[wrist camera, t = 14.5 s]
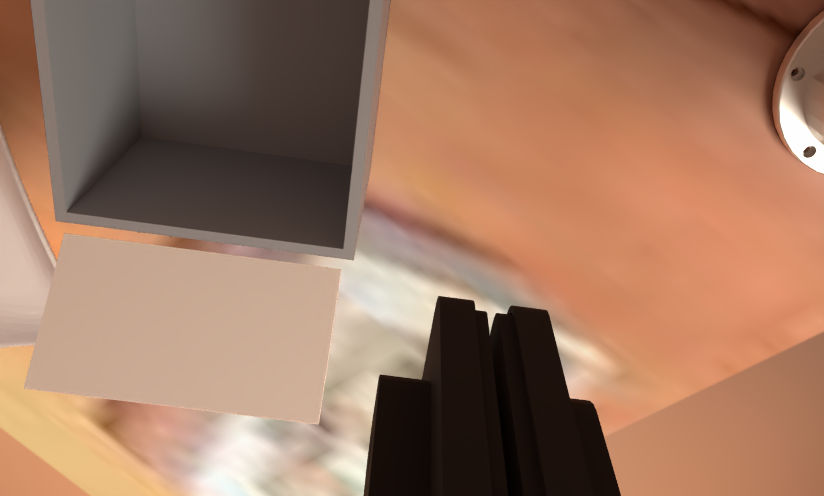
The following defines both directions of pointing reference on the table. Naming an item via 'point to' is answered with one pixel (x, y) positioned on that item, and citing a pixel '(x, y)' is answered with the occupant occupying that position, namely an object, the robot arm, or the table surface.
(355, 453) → the table surface
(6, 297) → the salad plate
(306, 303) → the flap
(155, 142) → the carton
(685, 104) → the table surface
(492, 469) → the robot arm
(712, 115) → the table surface
